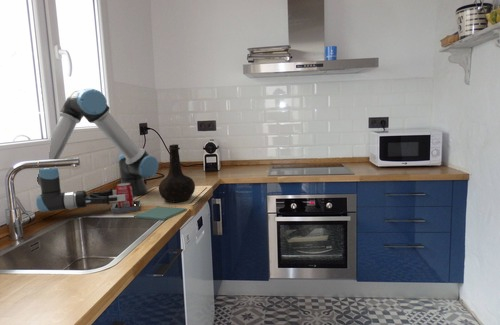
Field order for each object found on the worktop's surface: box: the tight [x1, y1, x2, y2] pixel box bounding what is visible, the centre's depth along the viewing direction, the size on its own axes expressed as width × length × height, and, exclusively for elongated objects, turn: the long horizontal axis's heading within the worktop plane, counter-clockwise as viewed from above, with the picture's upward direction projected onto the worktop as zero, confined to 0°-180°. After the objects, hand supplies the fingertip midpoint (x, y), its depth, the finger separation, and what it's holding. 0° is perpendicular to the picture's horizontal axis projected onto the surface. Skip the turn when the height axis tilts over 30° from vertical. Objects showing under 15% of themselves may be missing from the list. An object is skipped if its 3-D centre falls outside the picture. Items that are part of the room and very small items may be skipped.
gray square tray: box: [110, 200, 141, 215], centre depth 170 cm, size 12×12×2 cm
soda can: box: [115, 182, 134, 208], centre depth 169 cm, size 7×7×12 cm
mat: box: [133, 205, 188, 221], centre depth 158 cm, size 16×16×1 cm
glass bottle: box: [158, 143, 196, 203], centre depth 180 cm, size 18×18×28 cm
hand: (126, 194), depth 169 cm, fingers open, 13 cm apart
